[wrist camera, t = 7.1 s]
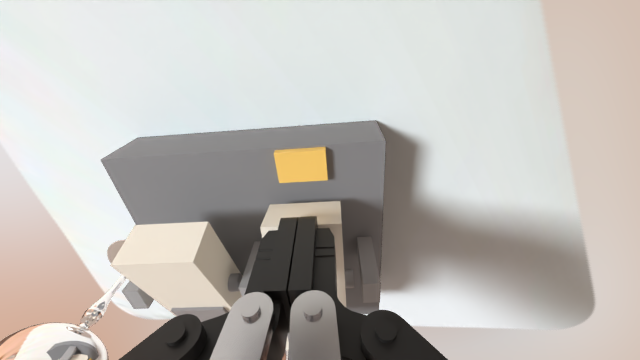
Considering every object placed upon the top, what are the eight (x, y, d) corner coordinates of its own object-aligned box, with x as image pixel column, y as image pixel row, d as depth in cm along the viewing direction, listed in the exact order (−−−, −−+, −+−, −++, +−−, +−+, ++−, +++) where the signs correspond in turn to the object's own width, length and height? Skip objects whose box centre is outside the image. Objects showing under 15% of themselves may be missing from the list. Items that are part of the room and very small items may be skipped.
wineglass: (181, 249, 20) (29, 481, 10) (167, 292, 23) (36, 510, 13) (101, 221, 19) (-163, 451, 9) (96, 270, 22) (-112, 490, 12)
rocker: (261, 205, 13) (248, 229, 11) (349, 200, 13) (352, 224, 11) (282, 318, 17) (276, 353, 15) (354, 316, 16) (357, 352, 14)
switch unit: (137, 137, 16) (40, 195, 11) (375, 120, 15) (402, 174, 10) (204, 285, 22) (165, 366, 17) (372, 279, 22) (387, 364, 16)
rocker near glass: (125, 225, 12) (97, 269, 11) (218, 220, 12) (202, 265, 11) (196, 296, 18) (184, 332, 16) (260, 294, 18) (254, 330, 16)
